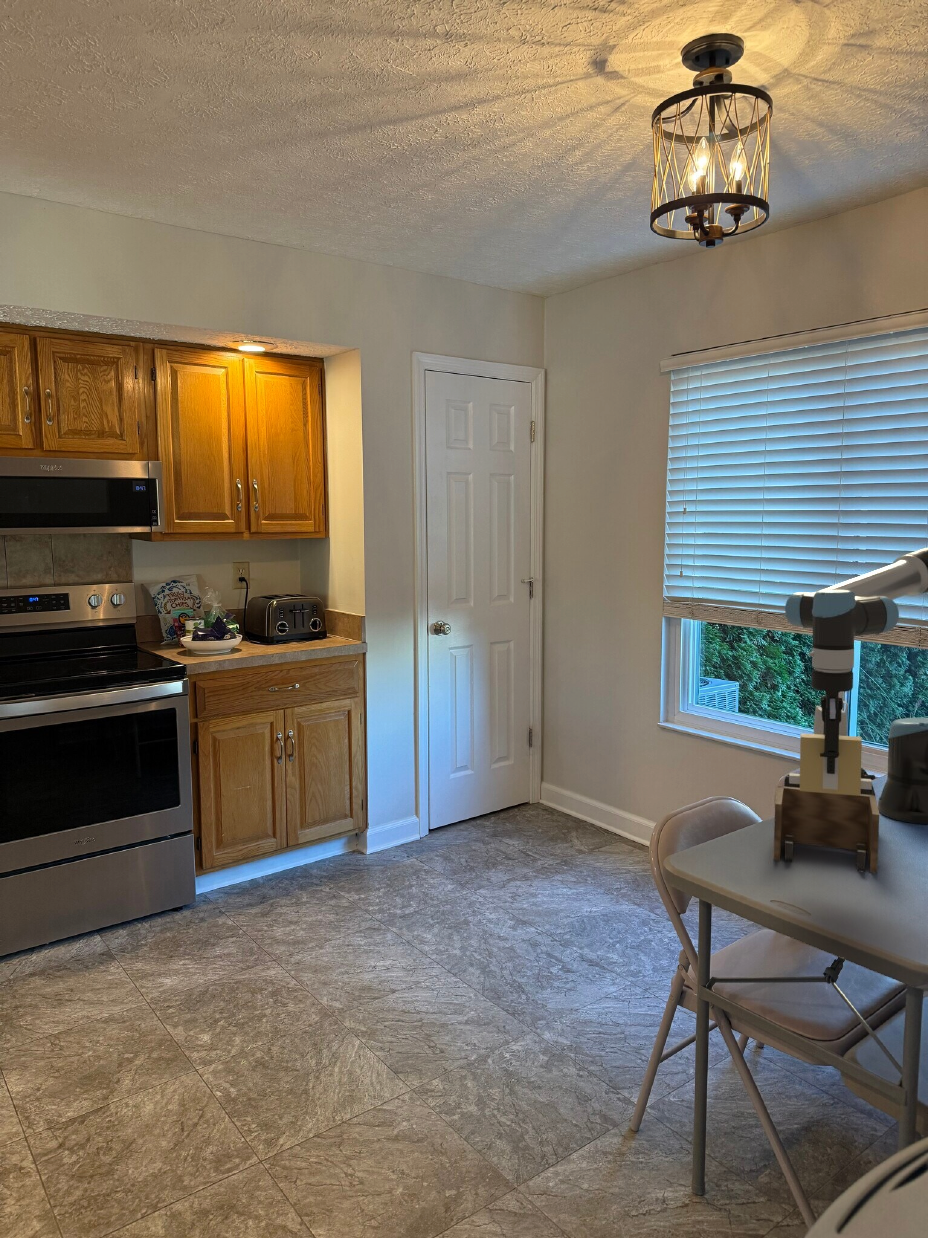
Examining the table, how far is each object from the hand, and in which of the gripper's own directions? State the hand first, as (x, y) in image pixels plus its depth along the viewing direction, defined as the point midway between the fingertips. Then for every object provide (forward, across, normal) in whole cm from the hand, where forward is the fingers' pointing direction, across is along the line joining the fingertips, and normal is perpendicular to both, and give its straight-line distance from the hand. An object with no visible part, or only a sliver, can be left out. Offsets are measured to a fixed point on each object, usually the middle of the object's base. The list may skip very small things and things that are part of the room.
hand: (829, 785), depth 170 cm
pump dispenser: (+18, -26, +6) cm, 32 cm away
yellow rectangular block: (+1, 0, 0) cm, 1 cm away
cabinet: (+18, -9, -1) cm, 20 cm away
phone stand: (+18, -24, -6) cm, 31 cm away
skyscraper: (+18, -36, +1) cm, 41 cm away
